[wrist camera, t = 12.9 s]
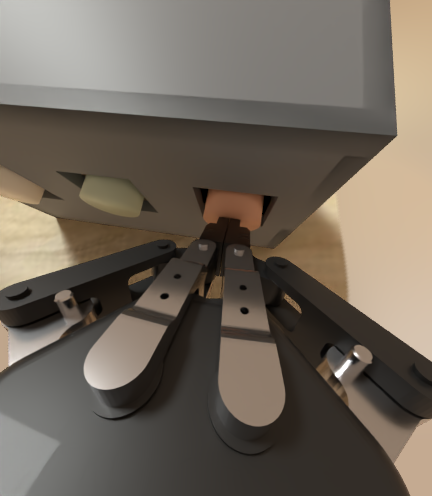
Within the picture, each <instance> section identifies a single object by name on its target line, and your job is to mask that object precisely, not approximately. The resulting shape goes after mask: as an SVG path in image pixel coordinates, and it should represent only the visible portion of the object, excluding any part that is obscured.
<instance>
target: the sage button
mask: <svg viewBox="0 0 432 496" xmlns="http://www.w3.org/2000/svg"><path fill="white" fill-rule="evenodd" d="M79 196H80V198H81V199H82V200H83V201H84V202H86V203H87V204H89V205H91V206H93V207H95V208H97V209H100V210H102V211H105V212H108V213H111V214H115V215H119V216H124V217H138V216H139V215H140V211H141V208H142V204H143V200H144V196H143V195H142V194H141V193H140V192H139V190H138V189H137V188H136V187H135V186H134V185H133V184H132V183H131V181H130V180H129V179H121V178H112V177H104V176H95V175H86V177H85V180H84V183H83V185H82V188H81V191H80V194H79Z"/></svg>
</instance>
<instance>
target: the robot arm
mask: <svg viewBox="0 0 432 496" xmlns="http://www.w3.org/2000/svg"><path fill="white" fill-rule="evenodd" d="M149 268H152V273H153V276H151V277H148V278H146V279H144V280H141V281H139V282H137V283H134V284H132V285H130V286H128V280H129V278H130V277H131V276H133V275H134V274H137V273H139V272H142V271H144V270H147V269H149ZM220 269H221V273H220ZM219 274H220V276H222V277H223V278H222V286H221V297H220V299H208V296H209V293H210V291H211V288H212V285H213V280H214V277H215V275H216V276H219ZM285 293H286V294H287V295H288V296H290V297H291V298H292V299H293V300H294V301H295V302H296V303H297V304H298V305H299V306H300V308H301V311H302V314H300V313H299V312H298V311H297V310H296V309H295V308H294V307H293V306H292V305H291V304H289V303H288V302H287V301H286V300H285V299H284V296H285ZM0 320H1V323H2V325H3V326H4V328H5V329H6V330H7V331H8V335H9V336H8V337H9V339H8V341H9V342H8V347H9V367H7V368H6V369H4V370H3V371H2V372H0V496H410V494H409V492H408V490H407V487H406V485H405V483H404V481H403V479H402V477H401V475H400V474H399V472H398V470H397V469H396V467H395V465H394V462H395V461H396V459H397V458H398V456H399V454H400V453H401V451H402V449H403V448H404V446H405V445H406V443H407V441H408V440H409V438H410V436H411V435H412V433H413V432H414V430H415V429H416V427H418V426H419V425H421V424H423V423H425V422H427V421H429V420H431V419H432V362H431V361H430V360H428V359H427V358H425V357H424V356H423V355H421V354H420V353H418V352H417V351H415V350H414V349H413V348H411V347H410V346H408V345H407V344H406V343H404V342H403V341H401V340H400V339H398V338H397V337H396V336H394V335H393V334H391V333H390V332H389V331H387V330H386V329H384V328H383V327H382V326H380V325H379V324H377V323H376V322H375V321H373V320H372V319H370V318H369V317H367V316H366V315H365V314H363V313H362V312H360V311H359V310H358V309H356V308H355V307H353V306H352V305H351V304H349V303H348V302H346V301H345V300H343V299H342V298H341V297H339V296H338V295H336V294H335V293H334V292H332V291H331V290H329V289H328V288H326V287H325V286H324V285H322V284H321V283H319V282H318V281H317V280H315V279H314V278H312V277H311V276H310V275H308V274H307V273H305V272H304V271H302V270H301V269H300V268H298V267H297V266H295V265H294V264H293V263H291V262H290V261H288V260H286V259H284V258H281V257H270V258H268V259H267V260H266V262H265V261H262V260H259V259H257V258H255V257H254V256H253V255H252V251H251V249H250V230H249V229H248V228H246V227H240V220H239V219H232V218H230V221H229V218H224V217H219V218H218V221H217V223H209V224H207V225H206V226H205V228H204V230H203V232H202V234H201V236H200V238H199V239H198V240H195V241H193V242H192V243H191V244H190V246H189V247H188V248H176V244H175V243H174V242H173V241H170V240H157V241H154V242H151V243H147V244H144V245H141V246H137V247H134V248H131V249H128V250H124V251H121V252H118V253H114V254H111V255H108V256H105V257H101V258H98V259H95V260H92V261H88V262H85V263H82V264H78V265H75V266H72V267H69V268H65V269H62V270H59V271H56V272H52V273H49V274H46V275H42V276H39V277H36V278H33V279H29V280H26V281H23V282H19V283H16V284H13V285H11V286H9V287H6V288H4V289H3V290H1V291H0Z"/></svg>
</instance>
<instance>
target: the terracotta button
mask: <svg viewBox="0 0 432 496" xmlns="http://www.w3.org/2000/svg"><path fill="white" fill-rule="evenodd" d="M263 200H264V195H258V194H250V193H241V192H233V191H224V190H215V189H208V194H207V199H206V205H205V210H204V215H203V219H204V220H205V221H206V222H207V223H208V224H209V223H217V221H218V218H219V217H224V218H229V221H230V218H232V219H239V220H240V227H246V228H248V229H249V230H250V231H253V230H256V229H258V228H259V227H260V225H261V217H262V209H263Z"/></svg>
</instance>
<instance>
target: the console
mask: <svg viewBox="0 0 432 496" xmlns="http://www.w3.org/2000/svg"><path fill="white" fill-rule="evenodd" d="M396 136H397V123H396V105H395V88H394V69H393V51H392V33H391V15H390V0H0V165H2V166H4V167H6V168H7V169H9V170H11V171H13V172H15V173H16V174H18V175H20V176H22V177H24V178H25V179H27V180H29V181H31V182H33V183H34V184H36V185H38V186H40V187H42V188H43V189H45V190H44V193H43V195H42V198H41V200H40V203H39V204H29V203H24V202H21V203H23V204H26V205H28V206H30V207H33V208H35V209H37V210H40V211H42V212H44V213H47V214H49V215H51V216H54V217H57V218H64V219H71V220H78V221H85V222H92V223H99V224H106V225H113V226H120V227H127V228H134V229H141V230H148V231H155V232H162V233H169V234H176V235H183V236H190V237H197V238H200V236H201V234H202V232H203V230H204V228H205V226H206V225H207V224H208V223H207V222H206V221H205V220H204V219H203V215H204V210H205V205H204V201H203V198H202V194H201V190H200V188H207V189H215V190H224V191H233V192H241V193H250V194H258V195H267V196H271V199H270V203H269V205H268V207H267V210H266V212H265V214H264V215H262V217H261V225H260V227H259V228H258V229H256V230H253V231H250V245H253V246H260V247H267V248H275V247H276V246H277V245H278V244H279V243H281V242H282V241H283V240H284V239H285V238H286V237H287V236H288V235H289V234H290V233H291V232H293V231H294V230H295V229H296V228H297V227H298V226H299V225H300V224H301V223H302V222H303V221H305V220H306V219H307V218H308V217H309V216H310V215H311V214H312V213H313V212H314V211H315V210H317V209H318V208H319V207H320V206H321V205H322V204H323V203H324V202H325V201H326V200H327V199H329V198H330V197H331V196H332V195H333V194H334V193H335V192H336V191H337V190H338V189H339V188H341V187H342V186H343V185H344V184H345V183H346V182H347V181H348V180H349V179H350V178H352V177H353V176H354V175H355V174H356V173H357V172H358V171H359V170H360V169H361V168H362V167H363V166H365V165H366V164H367V163H368V162H369V161H370V160H371V159H372V158H373V157H374V156H376V155H377V154H378V153H379V152H380V151H381V150H382V149H383V148H384V147H385V146H386V145H388V143H390V142H391V141H392V140H393V139H394V138H395V137H396ZM82 174H86V175H95V176H104V177H112V178H121V179H129V180H130V181H131V183H132V184H133V185H134V186H135V187H136V188H137V189H138V190H139V192H140V193H141V194H142V195H143V196H144V197H145V198H146V199H147V201H145V200H143V204H142V208H141V211H140V215H139V216H138V217H124V216H119V215H115V214H111V213H108V212H105V211H102V210H100V209H97V208H95V207H93V206H91V205H89V204H87V203H86V202H84V201H83V200H82V199H81V198H80V196H79V194H80V191H81V188H82V185H83V183H84V180H85V177H84V176H83V175H82ZM18 202H20V201H18Z"/></svg>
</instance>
